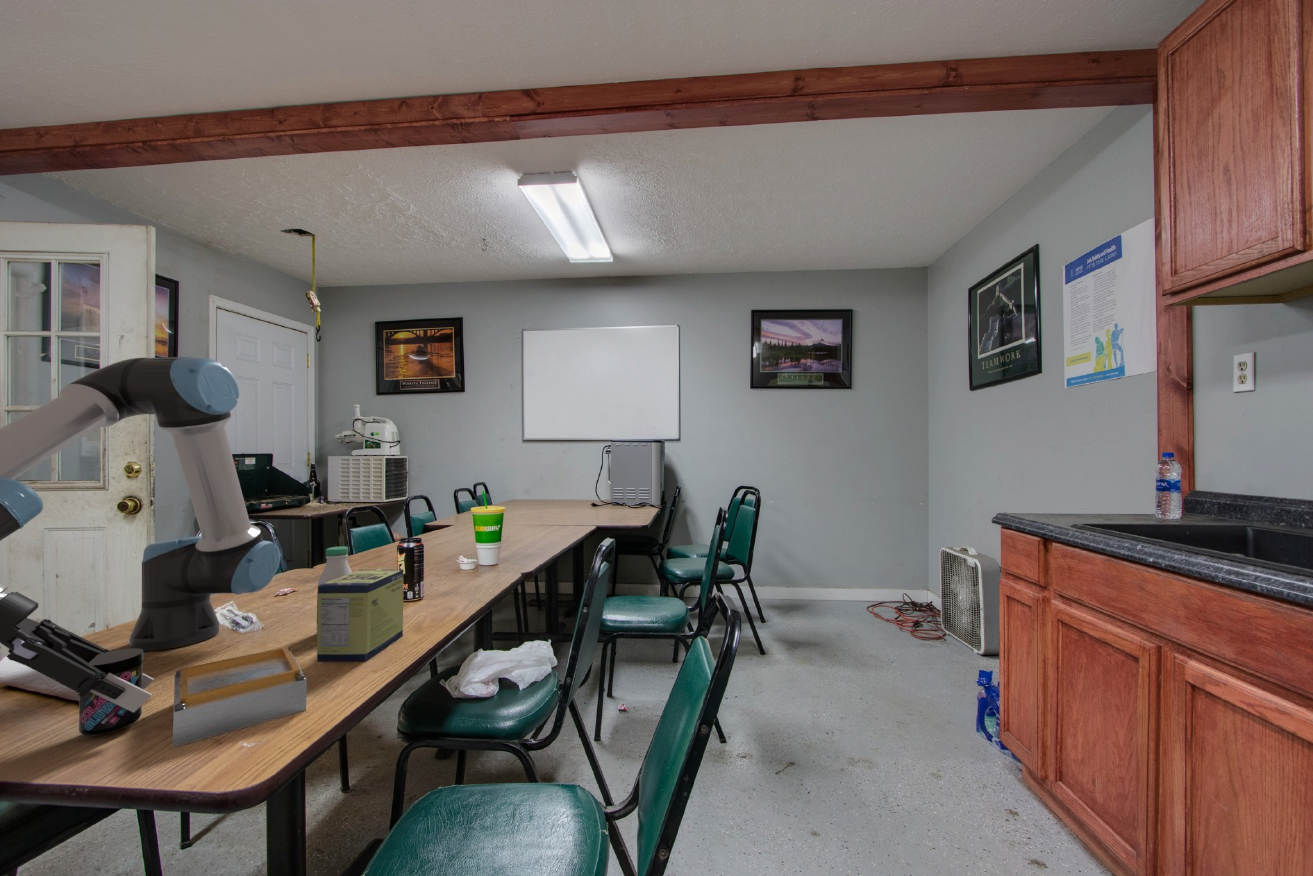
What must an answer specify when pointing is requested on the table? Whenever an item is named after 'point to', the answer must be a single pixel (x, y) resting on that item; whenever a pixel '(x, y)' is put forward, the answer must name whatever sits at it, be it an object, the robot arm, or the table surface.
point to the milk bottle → (334, 566)
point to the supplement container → (100, 712)
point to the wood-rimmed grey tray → (236, 694)
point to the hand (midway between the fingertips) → (144, 694)
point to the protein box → (359, 615)
